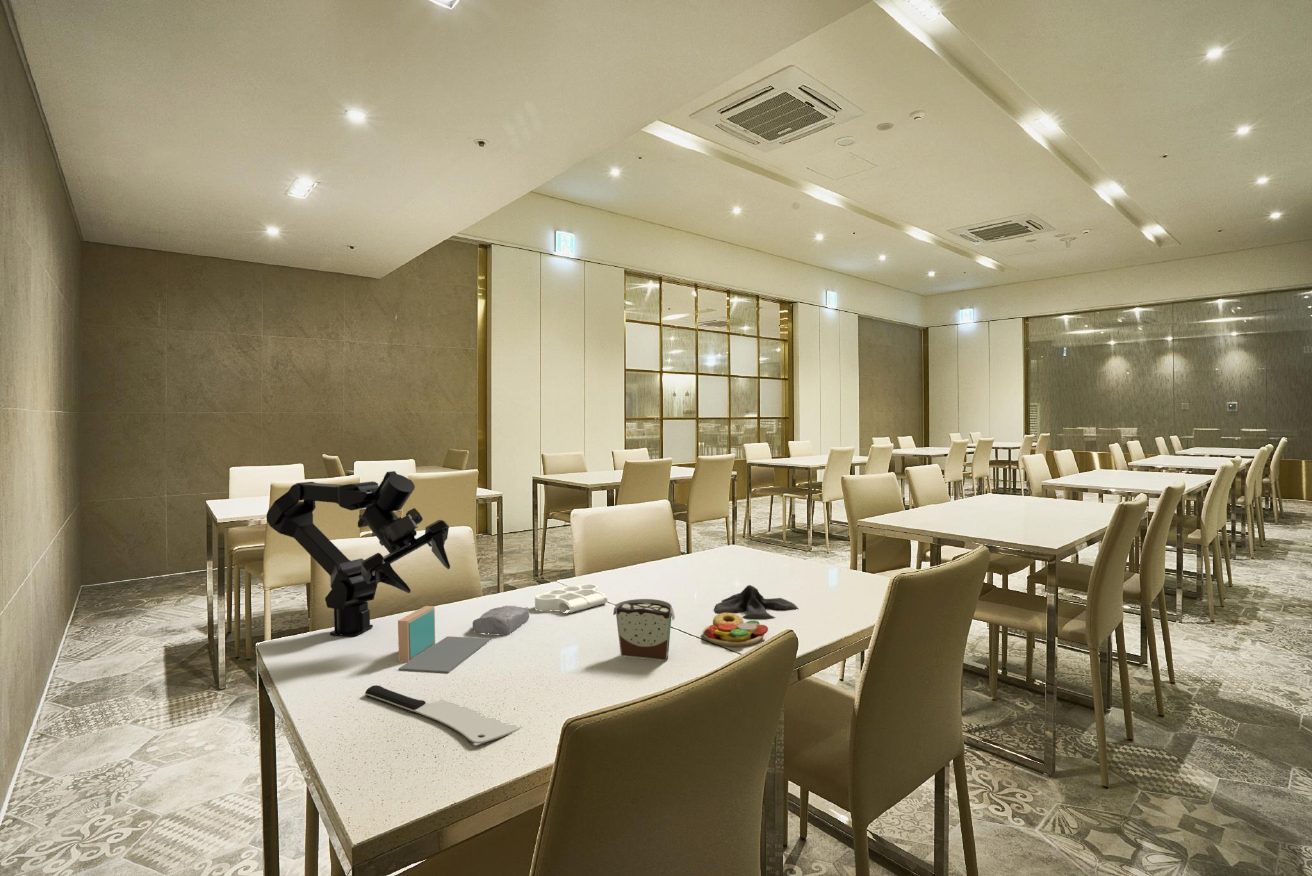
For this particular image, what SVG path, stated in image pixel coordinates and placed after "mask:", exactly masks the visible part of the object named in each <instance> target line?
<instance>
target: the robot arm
mask: <svg viewBox="0 0 1312 876" xmlns="http://www.w3.org/2000/svg"><path fill="white" fill-rule="evenodd" d="M415 488H416V486H415V483H414V482H413V481H412V479H410V478H408V477H406V476H404V475H403V474H398V473H397V472H396V471H395V470H394V471H393V470H392V471H391V470H390V471H386V473H385V474H384V476H383V479H382V480H381V482H380V484H379V483H378V482H376V481H364V482H363V481H362V482H356V483H355V482H353V483H345V484H335V483H334V484H333V483H320V482H314V481H305V482H296V483H294V484H292V485H291V487H290V488H289V490H288V491H287V492H285V493H284V494H283V495H281V496H280V497H278V498H277V499H276V500H275V501H274V502H273V504H272V505H271V506H270V507H269V509H268V510H267V513H266V522H267V523H268V525H269V527H270V528H271V529H273V530H274V531H276V532H277V533H278V534H279V535H283V536H287V537H290V538H292V539H294V540H295V541H296V542H297V543H298V544H299V545H300V546H301V547H302V548H303V549H304V550H305V551H306V552H307V553H308V554H309V555H310V557H312V559H313V560H314V561H316V563H318V565H319V566H320V567H321V568H322V569H323V570H324V571H325V572H326V573H327V574H328V575H329V576H330V577H329V579H330V580H329V581H330V588H331V590H330V591H329V592H328V594H327V595H326V596H325V597H324V601H325V603H326V607H327V608H329V609H333V623H334V624H333V626H334V628H333V629H334V630H332V631H330V632H329V635H330V636H343V637H344V636H347V637H356V636H359V635H361V634H363V633H365V632H366V631H368V630H370V629H372V628H373V627H374V625H373V624H371V616H370V615H371V612H370V611H371V610H370V608H369V601H373V600H375V596H376V592H377V587H378V584H379V583H383V584H385V585H389V586H392V587H394V588H397V589H398V590H401V591H403V592H405V593H407V594H410V593H411V589H410V586H409V585H408V584H407V582H405V580H404V579H402V577H401V576H400V575H399V574H398V573H397V572H396V571H395V570H394V569H393V566H392V565H391V564H392V563H394V562H396V561H398V560H400V559H401V558H403V557H405V556H407V555H409V554H411V553H412V552H414V551H416V550H418V549H419V548H421V547H423V546H425V545H428V546H429V547H430V548H431V552H432V553H433V555H434V556H435V558H437V559H438V561H439V562H440V563H441V565H443V566H444V567H445V568H446V569H447V570H450V568H451V564H450V561H449V558H448V556H447V555H448V554H447V552H446V549H445V543H446V540H448V536H449V531H450V530H449V528H450V526H449V524H447V522H446V521H445V520H442V519H438V520H436V521H434V522H432V523H430V524H429V525H427V526H425V529H424V530H425V532H424V534H422V535H421V536H419V537H417V538H416V536H417V531H416V529H418V528H419V526H418V524H421V523H422V521H423V519H424V518H423V516H422V515H421V513H420V512H419V511H418V510H417V509H416V507H413V508H412V509H410V510H407V512H406V513H405V516H403V517H401V516H400V517H398V515H397V514H396V513H395V512H398V511H400V510H402V509H403V507H404V506H405V504H406V503H407V501H408V500H409V498H410V497H411V495H412V494H413V492H414V490H415ZM316 502H324V503H335V504H337V505H338V506H339V507H340V508H342V509H346V510H348V511H356V510H362V509H363V510H364V509H365V510H364V512H363V513H362V514H359V515H358V521H357V528H360V529H361V528H364V527H368V528H369V529H370V530H371V532H372V533H373V534H374V535H375V537H376V538H377V539H378V541H379V542H378V543H379V545H380V546H381V547H384V548H385V549H386V550H387V551H388V554H386V555H384V556H383V555H382V553H380V552H377V553H374V554H373V555H371V556H369V557H366V558H365V559H364V558H361V557H360V558H357V559H353V560H350V559H349V558H348V557H347V556H346V554H344V553H343V552H342V551H341V550H340V549H339V548H338V547H337V546H336V545H335V544H334V543H333V542H332V540H330V539H329V538H328V537H327V536H326V535H325V534H324V533H323V532H322V531H321V530H320V528H318V526H316V524H315V523H314V513H313V512H314V511H315V509H316Z"/></svg>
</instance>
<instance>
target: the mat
mask: <svg viewBox="0 0 1312 876" xmlns="http://www.w3.org/2000/svg"><path fill="white" fill-rule="evenodd" d="M489 640H490V641H492V638H488V637H472V636H471V637H470V636H469V637H468V636H467V637H466V636H449V635H448V636H445V637H444V638H443V639H441V640H440V641H438V642H437V643H436V642H435V645H433V646H432V647H430V648H429V649H427V650H426V651H424V652H423V653H421V654H420V655H418V656H417V657H415V658H414V659H412V660H411V661H409V662H405V664H403V665H401V666H400V667H399V668H398V671H410V672H411V671H412V672H427V673H443V674H444V673H446V674H449V673H450V672H452V671H453V670H454V669H456V668H457V667H458V666H459V665H460V664H462V663H463V662H464V661H466V660H467V659H468V658H470V657H471V656H472V655H474V654H476V652H477V651H478V650H480V649H481V648H482V646H483V647H484V646H485V645H486V644H488V643H490V641H489ZM487 642H488V643H487Z"/></svg>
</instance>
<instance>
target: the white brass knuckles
mask: <svg viewBox="0 0 1312 876" xmlns="http://www.w3.org/2000/svg"><path fill="white" fill-rule="evenodd" d="M598 587H599V586H598V585H596V584H595V583H594V584H592V583H582V584H579V585H569V586H567V585H566V586H563V587H560V588H555V589H550V590H547V591H546V592H544V593H541V594H536V595H535V596H534V607H535V608H536V609H537V610H542V611H541V612H543V611H548V612H551V611H550V610H560V611H559V612H561V613H563V612H565V611H566V610H570V611H569V612H568V613H566V614H568V615H569V613H570V614H572V613H574V612H575V613H576V612H579V611H582V610H587V608H588V609H590V608H594V607H597V606H601V605H605V604H607V603H608V597H607V595H606V594H605V593H603V592H601V591H599V588H598ZM535 608H534V609H535ZM536 609H535V610H536ZM537 610H536V611H537ZM566 614H565V615H566Z"/></svg>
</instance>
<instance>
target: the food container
mask: <svg viewBox="0 0 1312 876" xmlns="http://www.w3.org/2000/svg"><path fill="white" fill-rule="evenodd" d="M614 606H615V607H614V608H613V614H612V615H613V616H615V617H616V623H617V624H616V625H617V632H618V633H617V634H618V641H619V651H620V657H624V656H625V657H626V658H635V659H642V658H643V659H644V660H653V661H661V662H662V661H663V662H668V660H669V654H670V652H669V651H670V639H671V627H672V626H671V625H672V621H675V617H676V616H675V612H674V608H673V607H672V604H671V603H670V602H668V601H664V600H661V599H653V598H635V599H627V600H624V601H620V602H617V603H616V604H615V605H614Z"/></svg>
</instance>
